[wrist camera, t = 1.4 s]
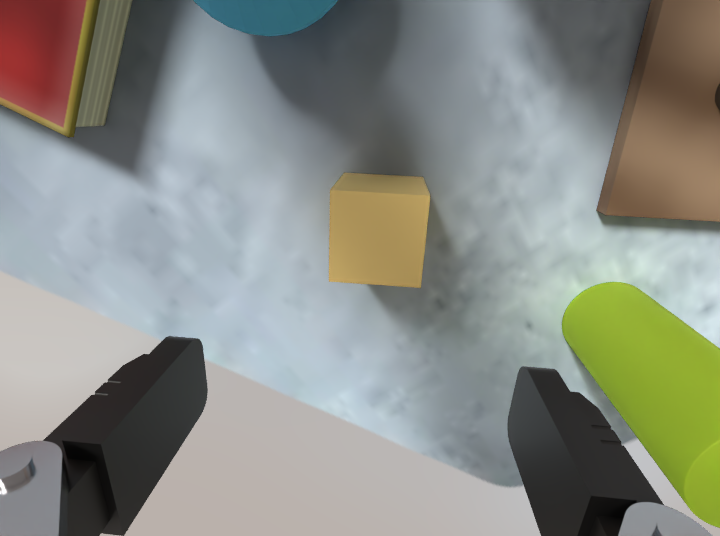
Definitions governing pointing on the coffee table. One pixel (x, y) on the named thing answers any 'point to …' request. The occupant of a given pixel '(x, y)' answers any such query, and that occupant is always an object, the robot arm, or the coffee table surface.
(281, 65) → the coffee table surface
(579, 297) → the soap dispenser
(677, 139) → the post board
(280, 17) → the perfume bottle
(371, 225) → the tan wooden block
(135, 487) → the robot arm
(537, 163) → the coffee table surface
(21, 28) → the hardcover book
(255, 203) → the coffee table surface
